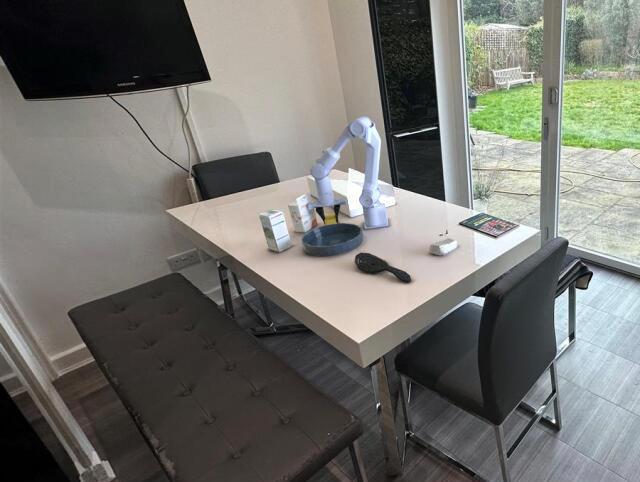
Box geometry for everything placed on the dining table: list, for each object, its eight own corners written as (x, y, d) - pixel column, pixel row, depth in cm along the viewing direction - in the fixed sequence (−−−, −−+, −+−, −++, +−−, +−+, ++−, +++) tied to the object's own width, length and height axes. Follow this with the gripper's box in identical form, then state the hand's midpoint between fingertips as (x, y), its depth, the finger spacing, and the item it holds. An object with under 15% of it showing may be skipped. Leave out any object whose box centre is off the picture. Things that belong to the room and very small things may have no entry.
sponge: (337, 221, 175) (335, 213, 173) (336, 228, 169) (334, 219, 167) (327, 223, 174) (325, 214, 172) (326, 229, 168) (324, 220, 166)
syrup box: (292, 246, 154) (283, 210, 148) (278, 252, 149) (268, 216, 143) (282, 243, 156) (272, 208, 150) (268, 250, 151) (257, 214, 145)
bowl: (363, 229, 168) (362, 220, 166) (363, 251, 149) (361, 241, 147) (307, 236, 161) (305, 227, 160) (300, 261, 143) (297, 250, 141)
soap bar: (451, 253, 154) (451, 238, 154) (461, 254, 150) (461, 238, 150) (428, 254, 147) (428, 238, 147) (439, 255, 143) (439, 239, 143)
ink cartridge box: (307, 223, 173) (300, 190, 168) (318, 224, 173) (310, 191, 167) (294, 231, 166) (285, 197, 160) (304, 232, 165) (296, 198, 159)
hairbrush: (399, 280, 125) (347, 255, 137) (400, 290, 127) (349, 265, 139) (419, 268, 131) (368, 246, 144) (419, 278, 133) (369, 255, 145)
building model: (310, 194, 208) (306, 176, 204) (351, 184, 223) (348, 167, 219) (351, 217, 179) (347, 197, 175) (395, 204, 194) (392, 185, 190)
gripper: (344, 187, 171) (350, 216, 176) (306, 190, 167) (313, 221, 172) (343, 192, 165) (349, 222, 170) (304, 196, 160) (311, 227, 166)
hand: (331, 222), depth 171 cm, fingers open, 4 cm apart
